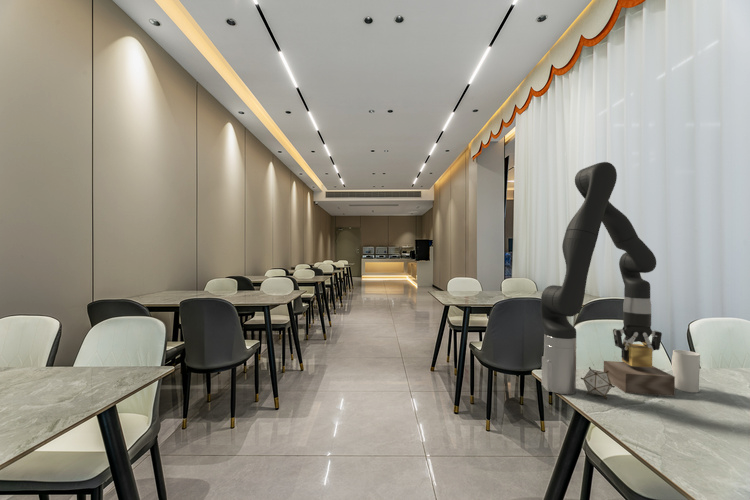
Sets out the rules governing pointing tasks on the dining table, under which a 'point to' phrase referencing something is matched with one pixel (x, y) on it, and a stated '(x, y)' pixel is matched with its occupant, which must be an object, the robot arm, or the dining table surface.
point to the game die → (597, 382)
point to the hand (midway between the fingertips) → (636, 361)
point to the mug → (686, 370)
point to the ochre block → (639, 356)
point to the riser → (640, 379)
